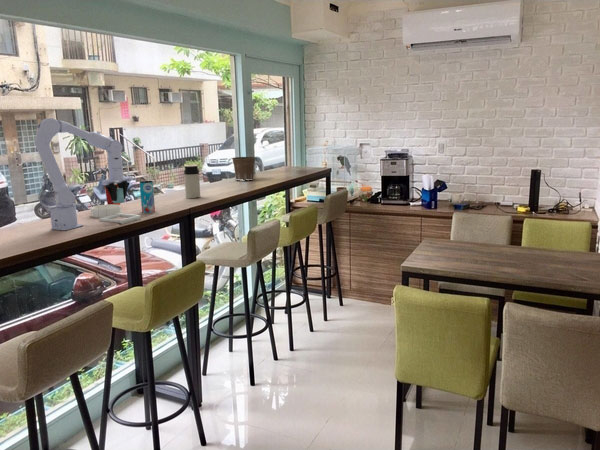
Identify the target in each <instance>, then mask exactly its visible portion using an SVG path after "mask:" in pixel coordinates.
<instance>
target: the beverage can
mask: <svg viewBox="0 0 600 450" xmlns="http://www.w3.org/2000/svg"><path fill="white" fill-rule="evenodd" d="M154 191H155V190H154V182H153V180H140V181H139V193H140V205H141V212H142V213H144V214H145V213H146V214H147V213H154V212H156V206H155V195H154Z"/></svg>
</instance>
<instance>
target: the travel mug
mask: <svg viewBox="0 0 600 450" xmlns="http://www.w3.org/2000/svg"><path fill="white" fill-rule="evenodd" d="M183 166H184V171H183V173H184V174H183V176H184V187H185V189H184V190H185V198H187V199H197V198H196V197H199V198H200V197H201V187H200V186H201V183H200V170H199V169H198V166H199V164H184V165H183Z"/></svg>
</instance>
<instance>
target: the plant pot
mask: <svg viewBox="0 0 600 450" xmlns="http://www.w3.org/2000/svg"><path fill="white" fill-rule="evenodd" d="M231 159H232V164H233V168H234V176H235V180H236V179H243V180H246V179H253V180H254V173H255V172H254V171H255V170H254V169H255V162H256V160H255V159H256V157H255V156H238V157H237V156H236V157H231Z"/></svg>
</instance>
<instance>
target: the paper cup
mask: <svg viewBox="0 0 600 450" xmlns="http://www.w3.org/2000/svg"><path fill="white" fill-rule="evenodd" d="M115 182H119V181H115ZM115 185H117V183H115ZM103 186H104V191H105V195H106V196H105V197H106V203H107V204H106V205H108V204H116V205H121V203H114V202H113V201H112V199H111V196H110V194H109V192H108V190H107V189H106V187H105V185H103ZM117 188H118V187H117Z"/></svg>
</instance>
